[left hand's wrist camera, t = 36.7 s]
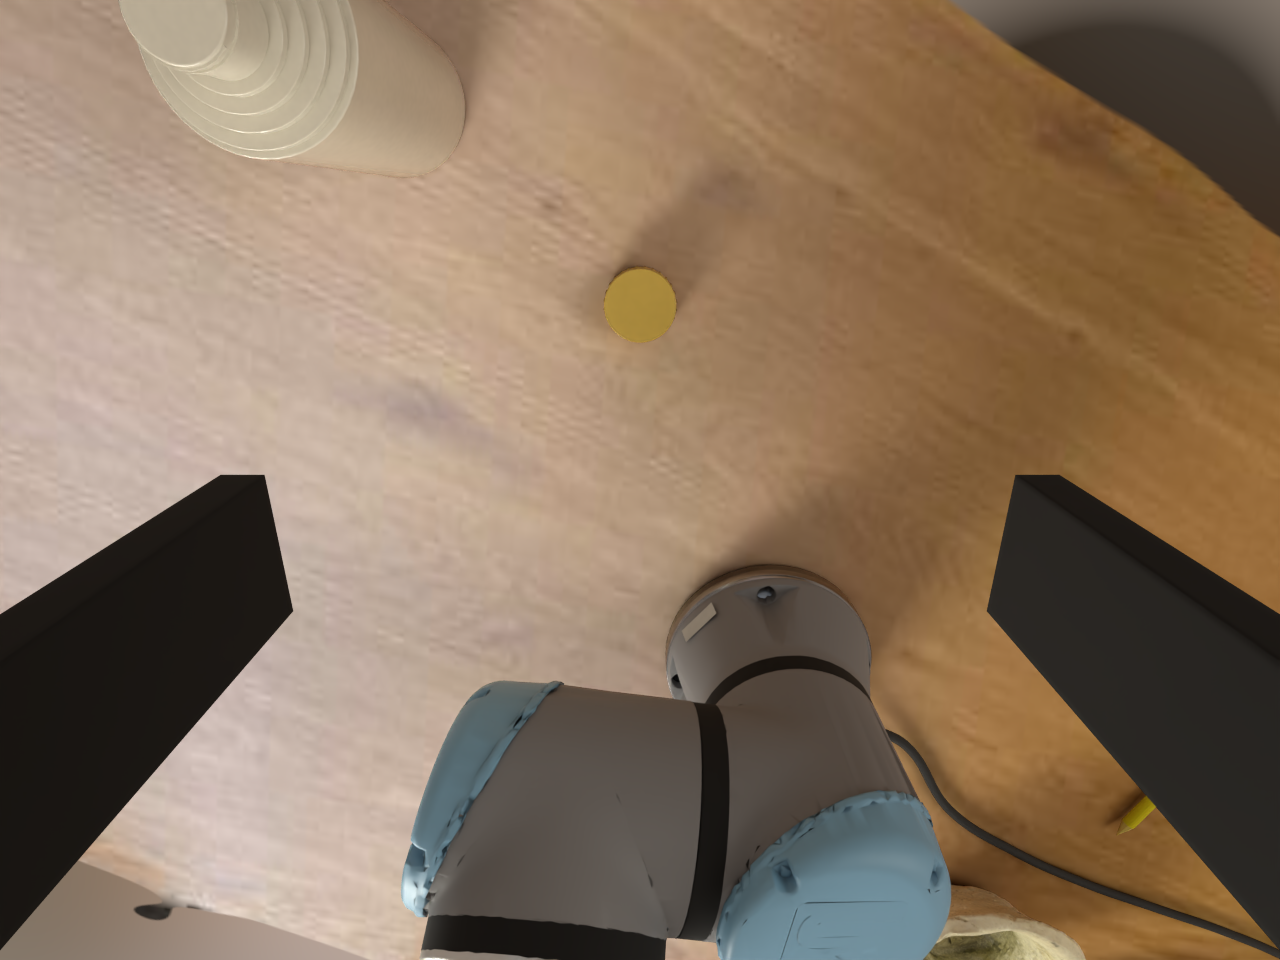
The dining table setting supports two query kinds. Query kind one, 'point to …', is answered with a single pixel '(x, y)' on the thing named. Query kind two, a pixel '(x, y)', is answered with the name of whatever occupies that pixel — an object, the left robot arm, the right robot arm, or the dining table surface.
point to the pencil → (1136, 815)
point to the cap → (640, 304)
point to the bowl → (997, 932)
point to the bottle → (304, 81)
